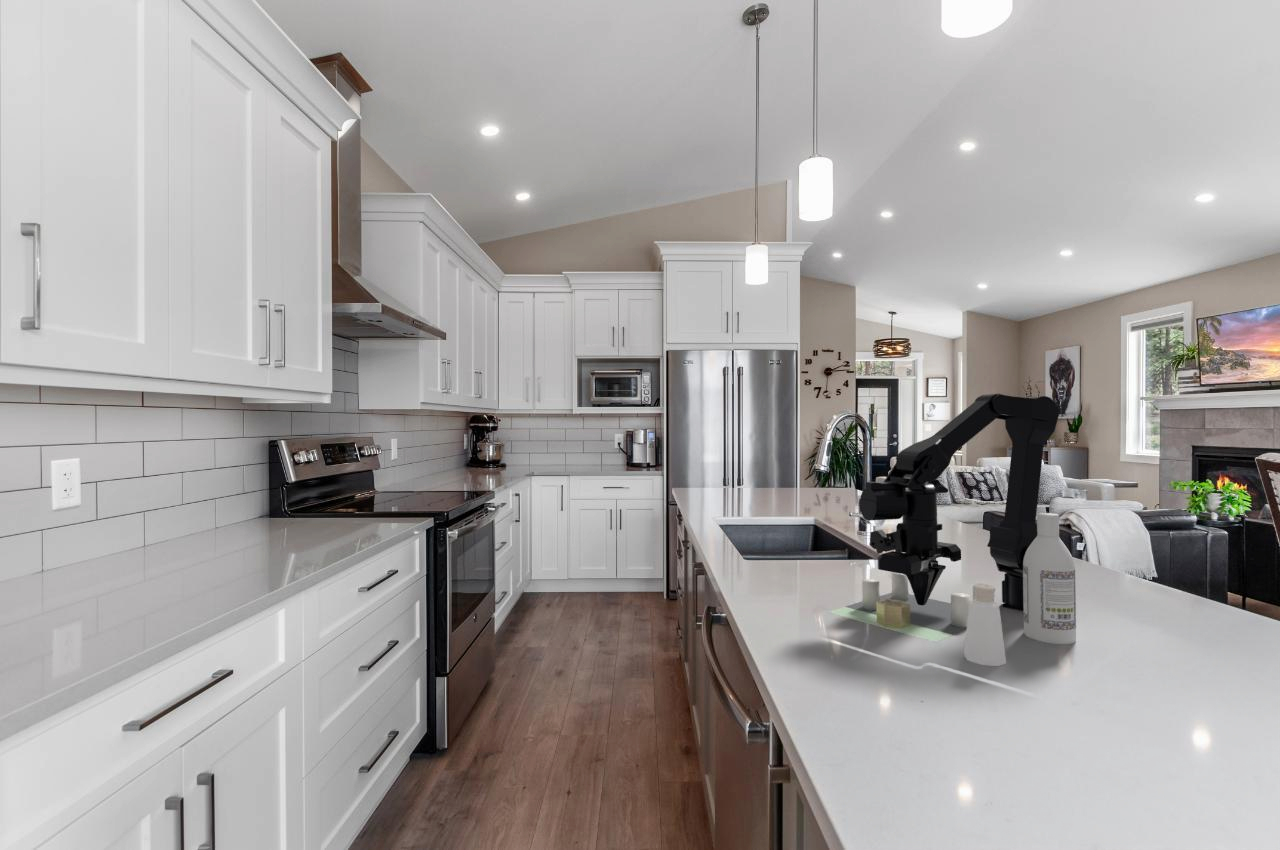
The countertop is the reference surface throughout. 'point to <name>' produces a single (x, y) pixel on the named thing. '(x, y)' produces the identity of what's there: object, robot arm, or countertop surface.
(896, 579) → the cylinder
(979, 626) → the pepper shaker
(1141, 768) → the countertop surface
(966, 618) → the cylinder
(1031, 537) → the robot arm
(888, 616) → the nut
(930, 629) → the mat
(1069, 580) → the bath foam
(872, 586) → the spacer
